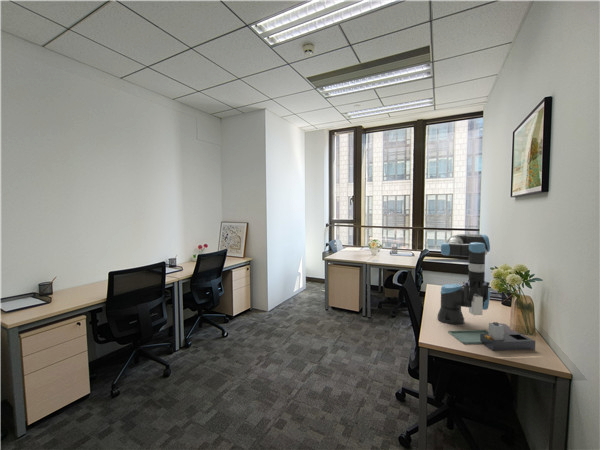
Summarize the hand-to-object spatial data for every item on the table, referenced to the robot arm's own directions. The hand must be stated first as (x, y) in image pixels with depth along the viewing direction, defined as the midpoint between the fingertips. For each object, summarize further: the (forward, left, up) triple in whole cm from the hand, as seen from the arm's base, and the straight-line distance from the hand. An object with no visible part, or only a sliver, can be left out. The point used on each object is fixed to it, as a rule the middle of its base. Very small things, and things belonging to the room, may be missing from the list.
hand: (475, 312), depth 151 cm
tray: (0, 0, -15) cm, 15 cm away
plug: (0, 0, -1) cm, 1 cm away
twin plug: (+10, +4, -13) cm, 17 cm away
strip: (+10, +10, -15) cm, 20 cm away
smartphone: (-11, +26, -15) cm, 32 cm away
